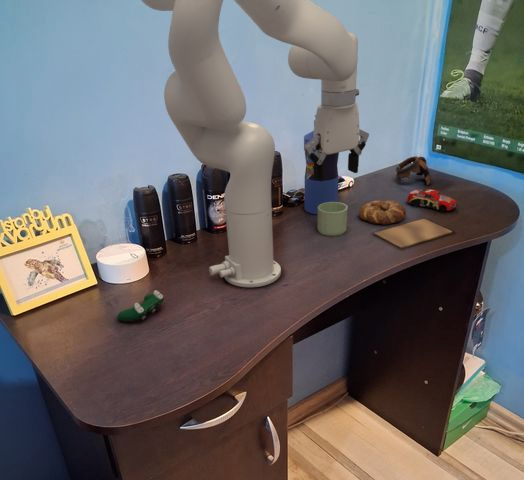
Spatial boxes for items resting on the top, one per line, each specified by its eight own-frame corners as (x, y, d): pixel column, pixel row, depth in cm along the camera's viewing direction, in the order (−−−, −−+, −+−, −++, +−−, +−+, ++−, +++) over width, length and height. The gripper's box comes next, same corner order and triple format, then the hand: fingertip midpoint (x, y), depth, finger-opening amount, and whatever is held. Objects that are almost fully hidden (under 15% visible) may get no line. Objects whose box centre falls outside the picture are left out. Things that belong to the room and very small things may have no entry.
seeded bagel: (357, 225, 138) (358, 211, 136) (358, 209, 147) (359, 196, 145) (406, 226, 136) (407, 212, 134) (404, 210, 145) (405, 197, 143)
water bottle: (318, 199, 155) (320, 105, 140) (344, 206, 149) (349, 109, 135) (296, 209, 149) (296, 112, 135) (323, 217, 144) (325, 117, 129)
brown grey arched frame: (427, 190, 158) (416, 166, 154) (399, 199, 165) (387, 176, 161) (440, 168, 164) (429, 144, 160) (412, 177, 171) (401, 154, 167)
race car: (459, 208, 145) (461, 193, 143) (450, 214, 142) (452, 199, 139) (413, 198, 152) (415, 184, 150) (404, 204, 149) (406, 189, 146)
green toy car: (126, 332, 106) (139, 319, 101) (114, 317, 105) (126, 303, 101) (158, 310, 112) (171, 297, 108) (146, 296, 112) (158, 282, 107)
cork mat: (400, 248, 126) (401, 247, 126) (374, 234, 134) (374, 232, 133) (452, 232, 132) (452, 231, 132) (423, 219, 139) (423, 218, 139)
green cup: (328, 238, 133) (328, 215, 129) (311, 228, 138) (312, 205, 135) (352, 231, 136) (353, 208, 132) (335, 222, 141) (336, 199, 137)
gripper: (359, 89, 125) (356, 164, 135) (295, 101, 119) (296, 179, 129) (380, 94, 119) (375, 172, 129) (314, 107, 113) (314, 187, 123)
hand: (336, 175), depth 129 cm, fingers open, 9 cm apart
